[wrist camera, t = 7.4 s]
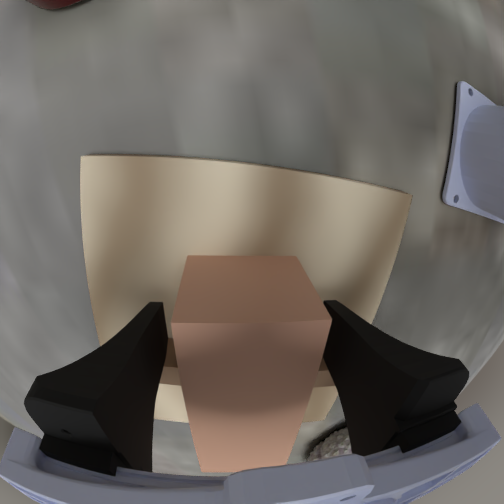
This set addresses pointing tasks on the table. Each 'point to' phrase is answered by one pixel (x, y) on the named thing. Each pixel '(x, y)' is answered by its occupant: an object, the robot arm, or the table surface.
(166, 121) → the table surface
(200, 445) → the notched bar
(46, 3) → the soda can
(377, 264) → the birch board
